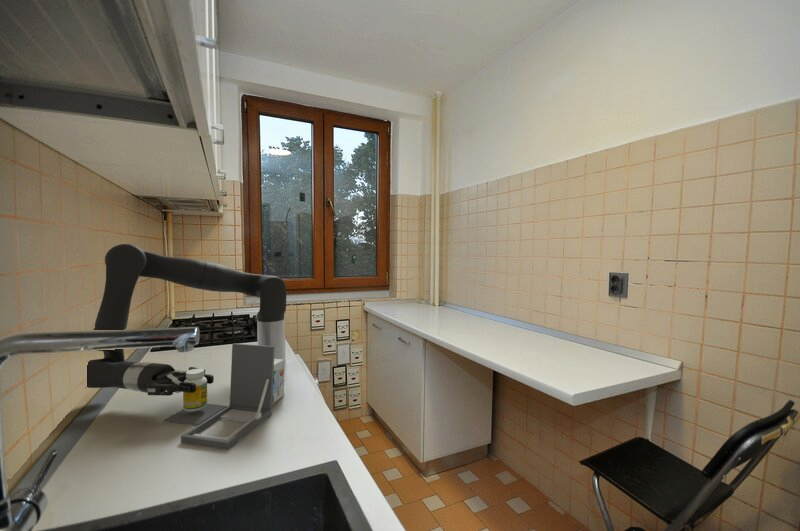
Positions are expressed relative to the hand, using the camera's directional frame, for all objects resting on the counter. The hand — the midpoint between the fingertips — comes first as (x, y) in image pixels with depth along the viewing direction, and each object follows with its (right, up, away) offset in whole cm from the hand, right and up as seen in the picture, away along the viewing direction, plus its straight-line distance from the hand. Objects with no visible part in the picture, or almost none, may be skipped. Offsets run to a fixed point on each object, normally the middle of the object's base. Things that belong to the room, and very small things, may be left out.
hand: (203, 383), depth 88 cm
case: (+10, -9, -6) cm, 14 cm away
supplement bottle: (-3, -7, +1) cm, 7 cm away
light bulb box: (+12, -8, +8) cm, 17 cm away
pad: (-2, -8, +1) cm, 9 cm away
